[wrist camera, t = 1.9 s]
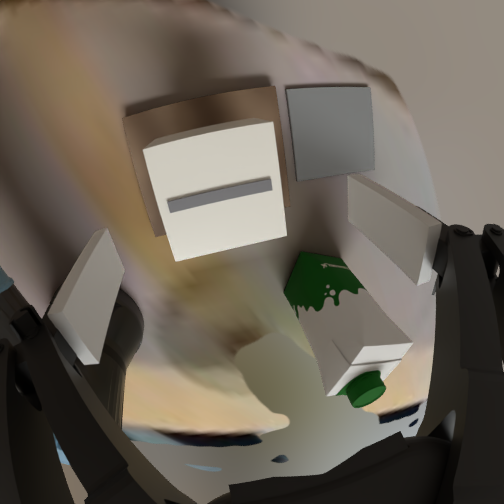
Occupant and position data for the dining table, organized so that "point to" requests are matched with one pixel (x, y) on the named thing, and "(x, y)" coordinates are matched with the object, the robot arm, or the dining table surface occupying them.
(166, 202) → the white drawer box
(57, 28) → the dining table surface
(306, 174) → the mat
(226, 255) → the dining table surface
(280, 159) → the post stand
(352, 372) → the milk carton
